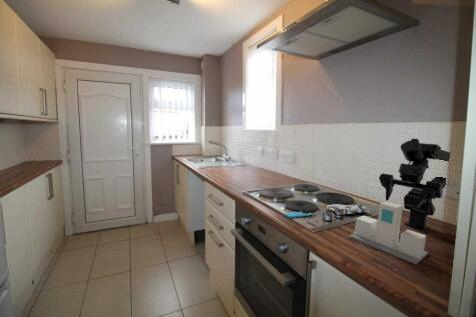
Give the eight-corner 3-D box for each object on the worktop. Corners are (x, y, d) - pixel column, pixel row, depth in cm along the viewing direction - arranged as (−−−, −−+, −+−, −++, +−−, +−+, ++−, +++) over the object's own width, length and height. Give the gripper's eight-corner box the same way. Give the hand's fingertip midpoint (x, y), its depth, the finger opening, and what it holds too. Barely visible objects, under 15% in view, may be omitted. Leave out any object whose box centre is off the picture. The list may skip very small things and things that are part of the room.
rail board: (363, 230, 91) (365, 213, 90) (427, 254, 75) (430, 234, 74) (349, 237, 85) (351, 219, 84) (416, 264, 69) (419, 242, 68)
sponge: (281, 212, 106) (289, 215, 100) (304, 209, 110) (312, 212, 105) (282, 215, 106) (289, 219, 101) (304, 213, 110) (312, 216, 105)
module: (381, 237, 83) (386, 201, 82) (397, 243, 79) (402, 205, 78) (375, 240, 81) (379, 203, 79) (391, 247, 77) (396, 208, 75)
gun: (356, 200, 118) (372, 207, 108) (356, 207, 118) (371, 215, 109) (323, 203, 114) (335, 211, 104) (322, 210, 114) (335, 219, 105)
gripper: (383, 152, 93) (367, 184, 88) (445, 159, 78) (431, 197, 73) (389, 170, 99) (374, 201, 94) (448, 179, 84) (434, 216, 79)
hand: (400, 203), depth 85 cm, fingers open, 9 cm apart
